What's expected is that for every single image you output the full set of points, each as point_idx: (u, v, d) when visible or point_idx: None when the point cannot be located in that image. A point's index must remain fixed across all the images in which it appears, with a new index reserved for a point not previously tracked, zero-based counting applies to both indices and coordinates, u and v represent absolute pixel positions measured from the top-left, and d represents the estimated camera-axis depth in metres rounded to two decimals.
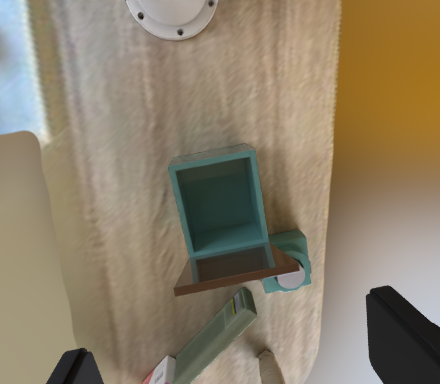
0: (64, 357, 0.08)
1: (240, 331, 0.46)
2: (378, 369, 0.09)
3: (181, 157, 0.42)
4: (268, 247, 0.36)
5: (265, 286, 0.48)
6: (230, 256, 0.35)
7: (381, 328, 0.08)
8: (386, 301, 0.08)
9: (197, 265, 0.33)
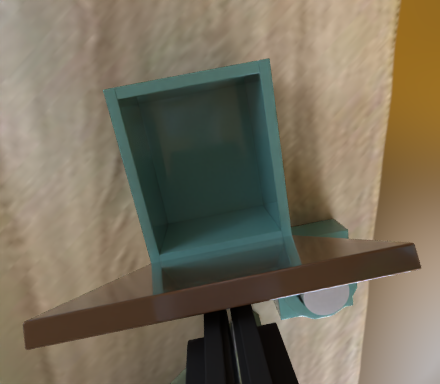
0: None
1: (241, 383, 0.28)
2: None
3: None
4: (295, 238, 0.18)
5: (280, 308, 0.30)
6: (220, 255, 0.17)
7: None
8: None
9: (149, 271, 0.16)
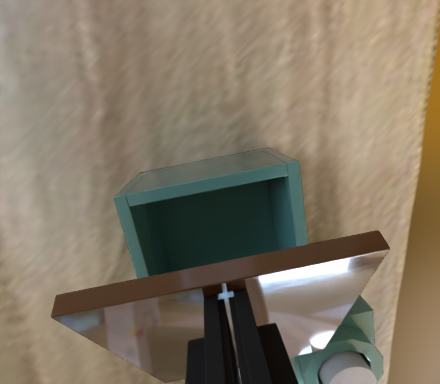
0: (206, 302, 0.10)
1: None
2: None
3: (152, 173, 0.23)
4: None
5: None
6: None
7: None
8: (235, 304, 0.09)
9: None
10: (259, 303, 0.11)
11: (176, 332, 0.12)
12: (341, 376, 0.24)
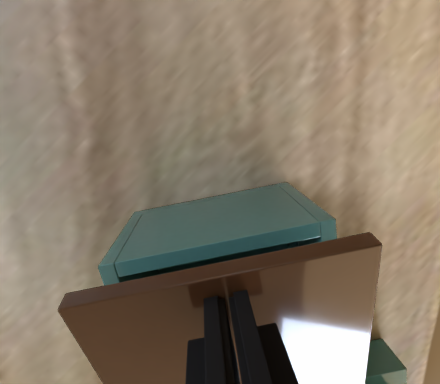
0: (206, 302, 0.10)
1: None
2: None
3: (149, 216, 0.19)
4: None
5: None
6: None
7: None
8: (235, 304, 0.09)
9: None
10: (263, 319, 0.11)
11: (177, 360, 0.12)
12: None
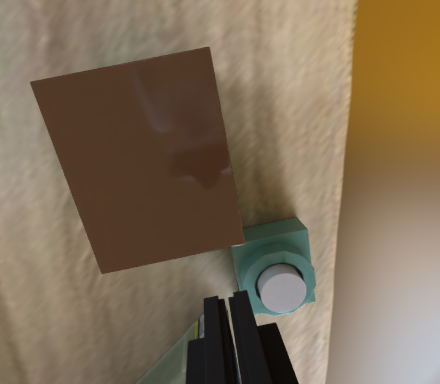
0: (206, 302, 0.10)
1: None
2: None
3: None
4: None
5: None
6: None
7: None
8: (235, 304, 0.09)
9: None
10: (150, 102, 0.19)
11: (100, 134, 0.19)
12: (272, 282, 0.26)
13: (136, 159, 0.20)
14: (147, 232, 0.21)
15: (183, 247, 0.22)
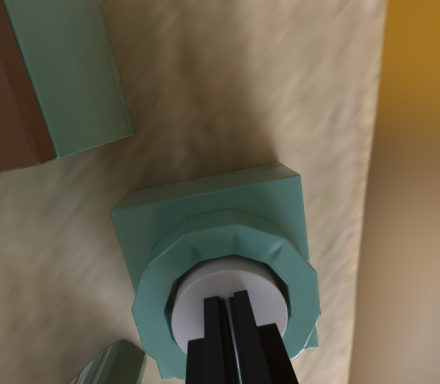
0: (206, 302, 0.10)
1: None
2: None
3: None
4: None
5: None
6: None
7: None
8: (235, 304, 0.09)
9: None
10: None
11: None
12: (199, 294, 0.10)
13: None
14: None
15: None
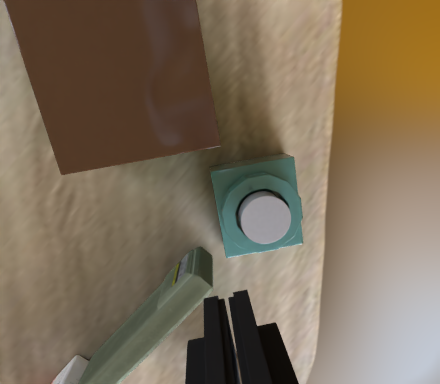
0: (206, 302, 0.10)
1: (182, 314, 0.26)
2: None
3: None
4: None
5: (225, 245, 0.28)
6: None
7: None
8: (235, 304, 0.09)
9: None
10: None
11: (60, 3, 0.17)
12: (253, 206, 0.24)
13: (99, 35, 0.18)
14: (111, 126, 0.19)
15: (151, 147, 0.20)
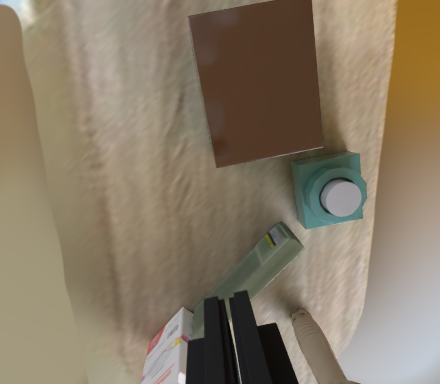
0: (206, 302, 0.10)
1: (281, 268, 0.36)
2: None
3: None
4: None
5: (305, 219, 0.38)
6: None
7: None
8: (235, 304, 0.09)
9: None
10: (266, 33, 0.27)
11: (230, 56, 0.27)
12: (335, 189, 0.34)
13: (252, 76, 0.28)
14: (253, 135, 0.29)
15: (278, 148, 0.30)
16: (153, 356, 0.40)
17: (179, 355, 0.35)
